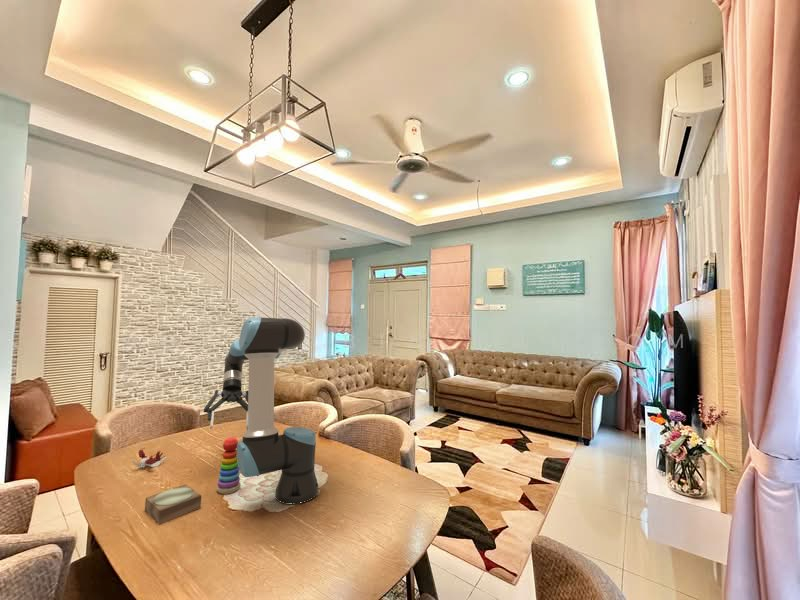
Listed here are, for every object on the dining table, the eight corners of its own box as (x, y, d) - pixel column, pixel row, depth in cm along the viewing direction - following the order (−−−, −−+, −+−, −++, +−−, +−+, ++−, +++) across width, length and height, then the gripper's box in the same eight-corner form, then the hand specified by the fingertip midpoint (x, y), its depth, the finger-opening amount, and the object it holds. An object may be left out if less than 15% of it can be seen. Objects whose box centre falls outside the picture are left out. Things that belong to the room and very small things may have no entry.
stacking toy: (244, 485, 130) (247, 435, 131) (232, 495, 122) (235, 442, 123) (224, 483, 131) (228, 433, 132) (211, 493, 123) (215, 440, 124)
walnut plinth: (200, 507, 114) (201, 494, 114) (159, 524, 104) (160, 509, 105) (184, 495, 121) (185, 483, 121) (144, 510, 111) (145, 496, 112)
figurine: (173, 467, 143) (174, 451, 144) (140, 477, 134) (141, 459, 134) (158, 457, 152) (159, 442, 152) (126, 466, 142) (127, 450, 143)
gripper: (259, 388, 163) (259, 430, 149) (199, 386, 150) (193, 432, 136) (263, 379, 159) (263, 421, 145) (202, 376, 146) (196, 423, 132)
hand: (229, 427), depth 140 cm, fingers open, 13 cm apart
